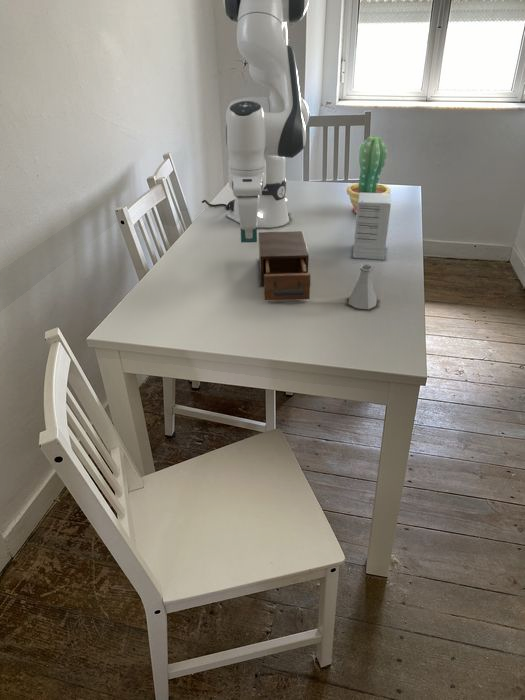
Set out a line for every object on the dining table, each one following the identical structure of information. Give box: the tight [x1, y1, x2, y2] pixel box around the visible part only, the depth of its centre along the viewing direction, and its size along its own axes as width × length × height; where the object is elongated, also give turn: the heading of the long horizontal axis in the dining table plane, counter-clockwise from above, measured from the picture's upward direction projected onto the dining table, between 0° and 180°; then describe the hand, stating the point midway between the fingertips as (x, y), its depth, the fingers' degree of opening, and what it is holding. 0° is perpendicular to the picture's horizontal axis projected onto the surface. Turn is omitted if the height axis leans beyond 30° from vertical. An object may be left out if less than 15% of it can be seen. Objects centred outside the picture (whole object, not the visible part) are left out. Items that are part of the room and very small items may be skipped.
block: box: [240, 226, 258, 244], centre depth 133 cm, size 4×4×4 cm
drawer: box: [263, 258, 311, 301], centre depth 136 cm, size 21×11×7 cm, turn 2°
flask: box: [347, 263, 378, 310], centre depth 131 cm, size 7×7×10 cm
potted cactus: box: [346, 135, 391, 214], centre depth 182 cm, size 15×15×25 cm
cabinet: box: [258, 230, 310, 287], centre depth 147 cm, size 17×13×9 cm
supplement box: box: [352, 193, 392, 261], centre depth 154 cm, size 10×9×17 cm
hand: (249, 233), depth 133 cm, fingers closed on block, 4 cm apart
